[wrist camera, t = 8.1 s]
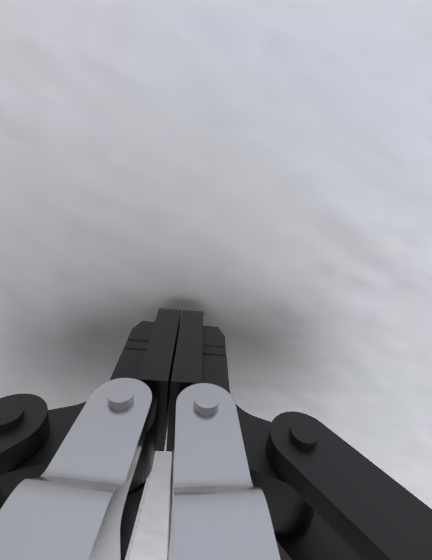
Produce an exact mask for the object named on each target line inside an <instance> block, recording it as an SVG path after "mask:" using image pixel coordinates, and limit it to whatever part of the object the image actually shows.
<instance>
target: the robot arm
mask: <svg viewBox="0 0 432 560" xmlns="http://www.w3.org/2000/svg"><path fill="white" fill-rule="evenodd" d="M180 320H181V323H180ZM167 427H168V434H167V450H166V451H172V465H171V478H170V497H169V521H168V546H167V560H432V509H431V508H429V507H428V506H427V505H425V504H424V503H423V502H422V501H420V500H419V499H418V498H416V497H415V496H414V495H413V494H411V493H410V492H409V491H408V490H406V489H405V488H404V487H402V486H401V485H400V484H399V483H397V482H396V481H395V480H394V479H392V478H391V477H390V476H388V475H387V474H386V473H385V472H383V471H382V470H381V469H379V468H378V467H377V466H376V465H374V464H373V463H372V462H371V461H369V460H368V459H367V458H365V457H364V456H363V455H362V454H360V453H359V452H358V451H357V450H355V449H354V448H353V447H351V446H350V445H349V444H348V443H346V442H345V441H344V440H342V439H341V438H340V437H339V436H337V435H336V434H335V433H334V432H332V431H331V430H330V429H328V428H327V427H326V426H325V425H323V424H322V423H321V422H319V421H318V420H317V419H315V418H313V417H311V416H309V415H307V414H303V413H300V412H285V413H282V414H280V415H278V416H277V417H275V418H274V420H273V421H272V422H269V421H266V420H263V419H260V418H257V417H255V416H252V415H250V414H248V413H246V412H245V411H243V410H242V409H241V408H239V407H238V406H237V405H236V403H235V401H234V399H233V397H232V396H231V395H230V390H229V380H228V369H227V358H226V348H225V336H224V335H223V334H222V332H221V331H220V330H219V328H218V327H210V326H203V312H202V311H190V310H183V311H182V317H181V310H177V309H165V308H160V309H159V311H158V314H157V318H156V321H155V322H147V321H142V322H141V323H139V324H138V325H137V326H135V327H134V328H133V329H132V331H131V333H130V335H129V338H128V341H127V342H126V345H125V347H124V349H123V351H122V354H121V356H120V358H119V361H118V363H117V365H116V367H115V370H114V372H113V374H112V377H111V379H110V381H108V382H105V383H104V384H102V385H100V386H99V387H98V388H96V389H95V390H94V391H93V393H92V394H91V396H90V397H89V399H88V401H86V402H84V403H81V404H78V405H74V406H69V407H64V408H58V409H53V410H48V409H47V405H46V403H45V401H44V400H43V399H42V398H40V397H38V396H36V395H32V394H16V395H11V396H6V397H3V398H0V560H129V557H130V553H131V549H132V545H133V542H134V538H135V534H136V530H137V526H138V522H139V518H140V514H141V511H142V507H143V503H144V499H145V495H146V491H147V487H148V483H149V474H150V472H151V469H152V465H153V459H154V454H155V451H164V447H165V440H166V433H167Z"/></svg>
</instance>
